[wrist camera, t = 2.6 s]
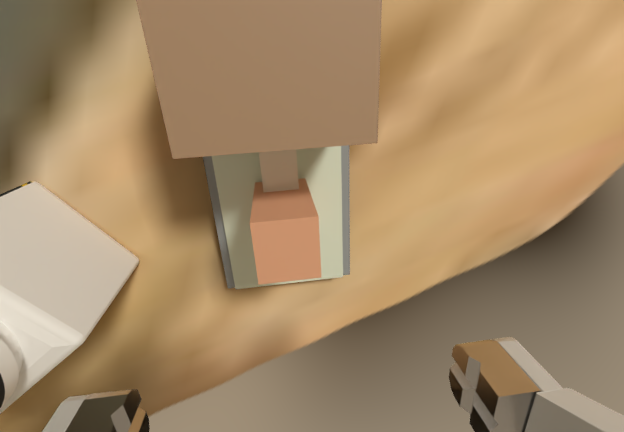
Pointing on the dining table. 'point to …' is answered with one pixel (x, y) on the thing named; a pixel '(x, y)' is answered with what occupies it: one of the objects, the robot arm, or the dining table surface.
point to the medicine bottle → (50, 284)
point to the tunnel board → (268, 105)
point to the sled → (284, 222)
